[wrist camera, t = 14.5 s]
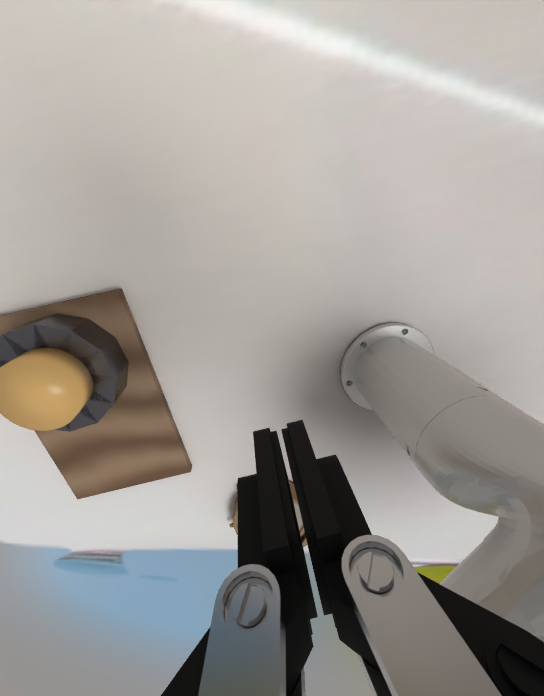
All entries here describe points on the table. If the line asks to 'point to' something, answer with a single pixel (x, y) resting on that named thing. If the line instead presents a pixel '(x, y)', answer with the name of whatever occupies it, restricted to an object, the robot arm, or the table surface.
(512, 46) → the table surface
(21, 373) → the cap
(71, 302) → the mount
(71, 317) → the grey faceted ring
